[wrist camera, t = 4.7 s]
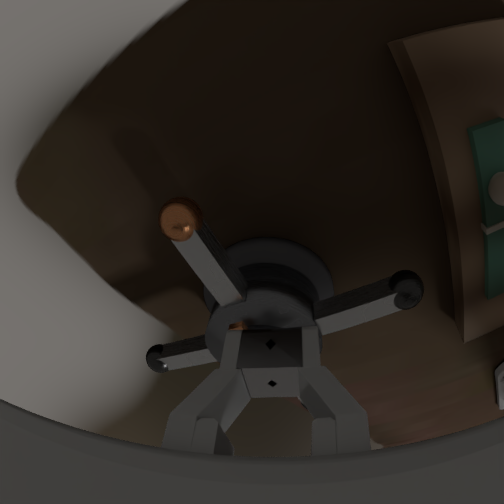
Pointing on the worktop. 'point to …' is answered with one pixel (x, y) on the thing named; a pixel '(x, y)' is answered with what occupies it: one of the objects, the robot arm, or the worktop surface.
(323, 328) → the capstan
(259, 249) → the pedestal
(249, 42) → the worktop surface
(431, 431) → the worktop surface
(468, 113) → the level stand
